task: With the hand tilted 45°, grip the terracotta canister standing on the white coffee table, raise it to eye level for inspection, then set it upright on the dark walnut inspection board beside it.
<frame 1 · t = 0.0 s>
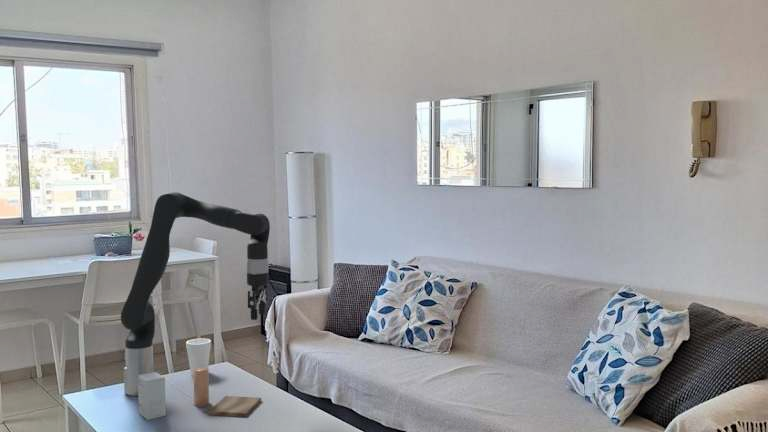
hand: (258, 316, 235), 29 cm above the table, tool pointing down, fingers open, 8 cm apart
foam cup: (199, 374, 265), on the table
small box: (152, 415, 221), on the table
canister: (201, 403, 232), on the table
inspection board: (235, 407, 228), on the table
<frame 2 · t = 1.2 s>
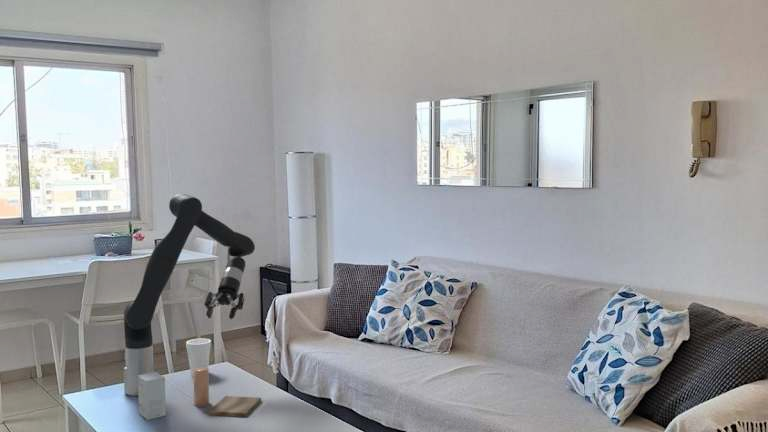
hand: (219, 317, 247), 26 cm above the table, tool tilted 45°, fingers open, 8 cm apart
nothing on the table moved.
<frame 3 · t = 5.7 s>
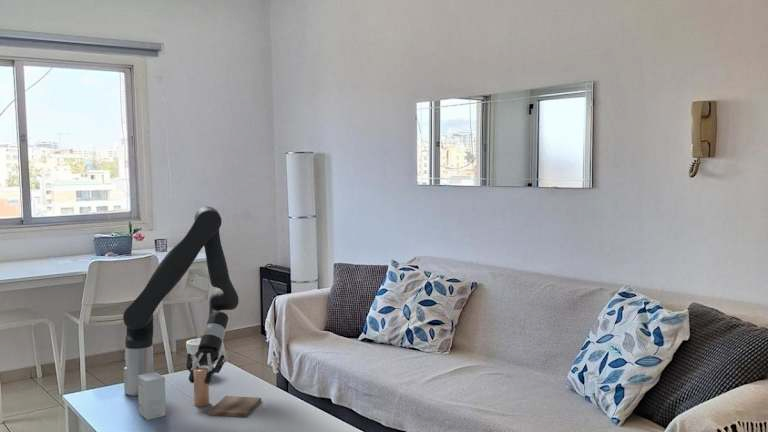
hand: (199, 382, 229), 8 cm above the table, tool tilted 45°, fingers closed on canister, 5 cm apart
canister: (201, 403, 232), on the table, touching gripper
everything else where it was.
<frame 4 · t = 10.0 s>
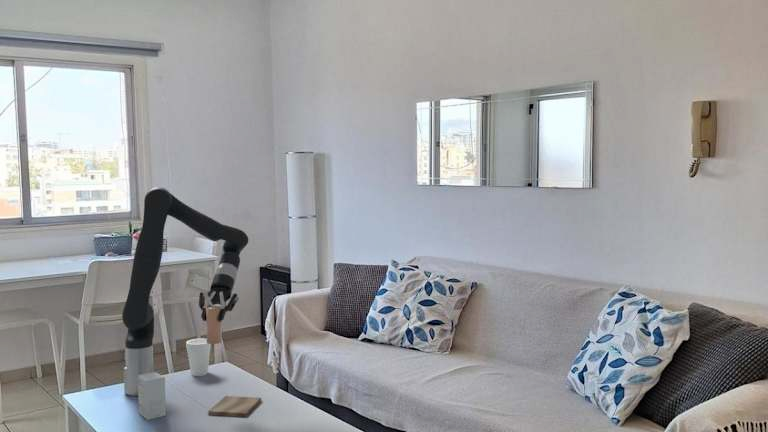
hand: (211, 319, 227), 30 cm above the table, tool tilted 45°, fingers closed on canister, 5 cm apart
canister: (214, 342, 229), point 22 cm above the table, touching gripper
everything else where it was.
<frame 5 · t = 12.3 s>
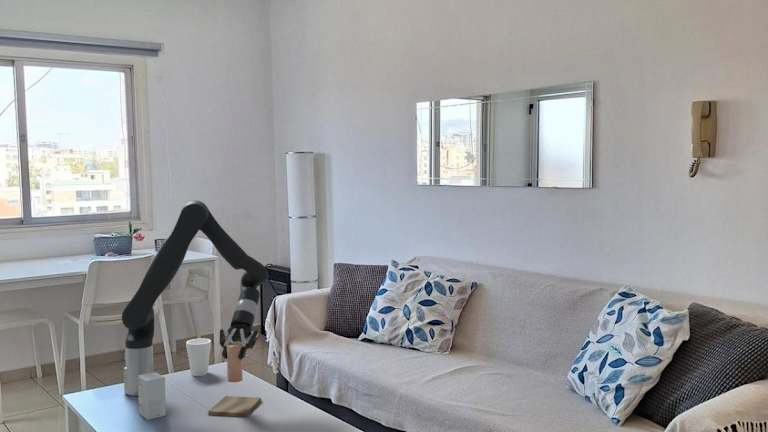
hand: (232, 357, 225), 18 cm above the table, tool tilted 45°, fingers closed on canister, 5 cm apart
canister: (235, 379, 227), point 10 cm above the table, touching gripper
everything else where it was.
when the fingers open (10 cm above the table, at t = 14.3 s): canister drops 1 cm, resting on inspection board.
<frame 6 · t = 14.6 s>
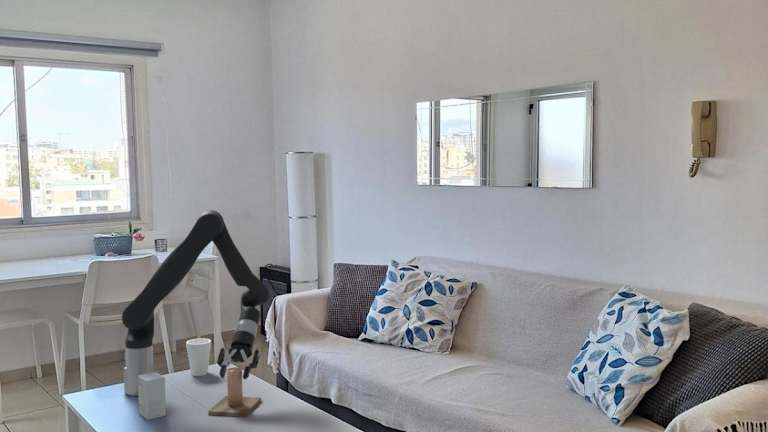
hand: (233, 377, 225), 11 cm above the table, tool tilted 45°, fingers open, 7 cm apart
canister: (235, 404, 228), point 1 cm above the table, touching inspection board
everything else where it was.
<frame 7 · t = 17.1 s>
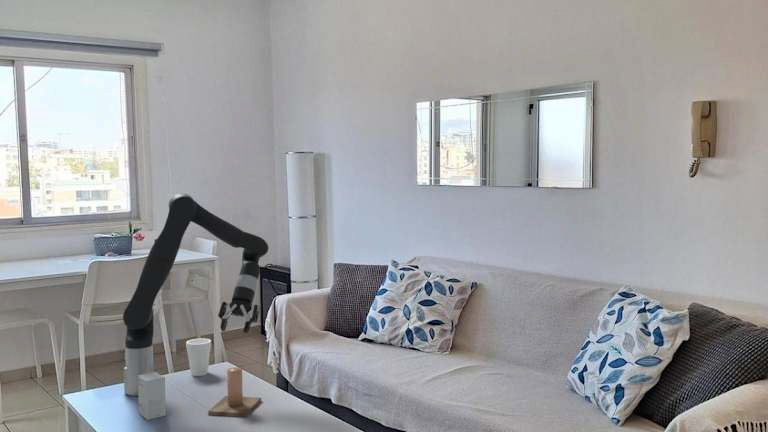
hand: (234, 331, 238), 23 cm above the table, tool tilted 35°, fingers open, 8 cm apart
nothing on the table moved.
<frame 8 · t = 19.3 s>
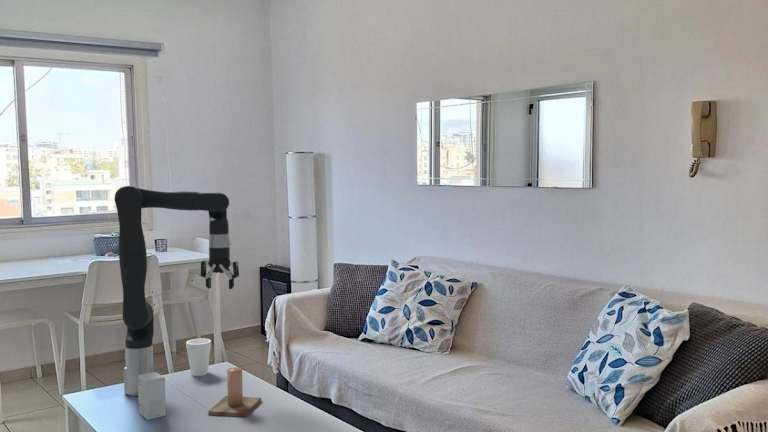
hand: (220, 288, 252), 36 cm above the table, tool pointing down, fingers open, 8 cm apart
nothing on the table moved.
at the end: canister inside the target area on the inspection board (0.1 cm from its centre), point 1.2 cm above the inspection board's base; canister tilted 0°; the gripper is holding nothing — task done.
